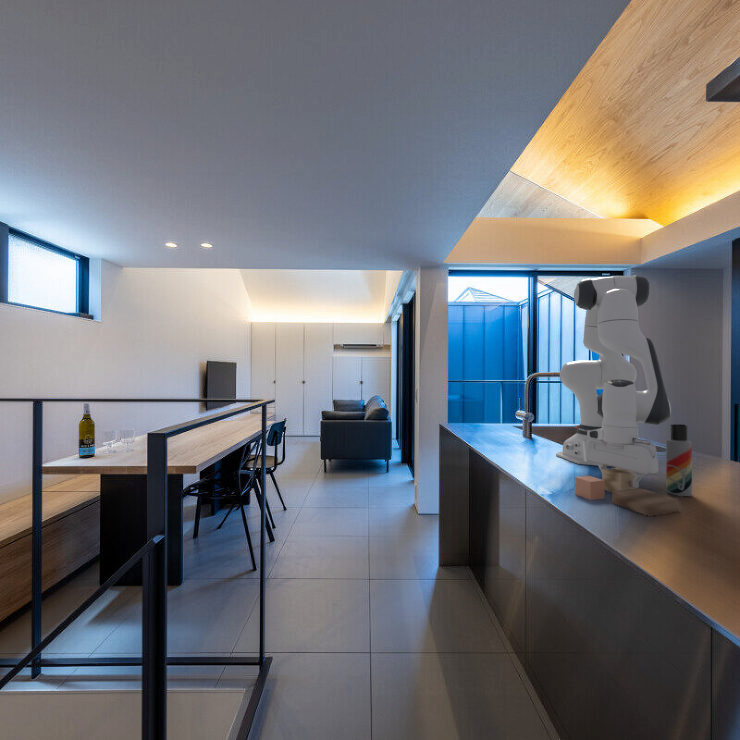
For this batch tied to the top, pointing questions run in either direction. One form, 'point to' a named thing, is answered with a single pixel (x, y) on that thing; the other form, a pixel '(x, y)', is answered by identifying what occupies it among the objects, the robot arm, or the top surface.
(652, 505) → the walnut base
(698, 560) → the top surface
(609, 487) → the oak cube
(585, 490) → the terracotta block
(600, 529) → the top surface
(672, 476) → the lotion bottle
